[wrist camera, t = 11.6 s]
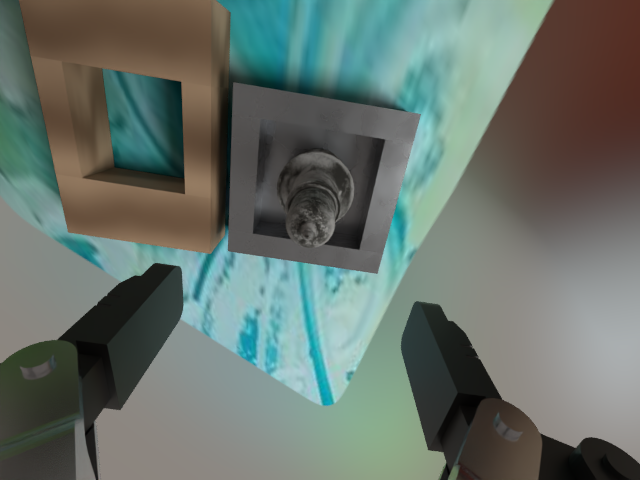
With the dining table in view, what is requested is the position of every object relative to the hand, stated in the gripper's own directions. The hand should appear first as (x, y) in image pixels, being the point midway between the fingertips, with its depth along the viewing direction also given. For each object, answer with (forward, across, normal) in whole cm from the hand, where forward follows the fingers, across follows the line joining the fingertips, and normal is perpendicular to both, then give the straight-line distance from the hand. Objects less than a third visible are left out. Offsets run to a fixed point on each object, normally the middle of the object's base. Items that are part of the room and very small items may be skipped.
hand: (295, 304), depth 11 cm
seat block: (+18, 0, 0) cm, 19 cm away
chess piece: (+18, 0, 0) cm, 18 cm away
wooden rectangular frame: (+19, +14, -2) cm, 23 cm away
